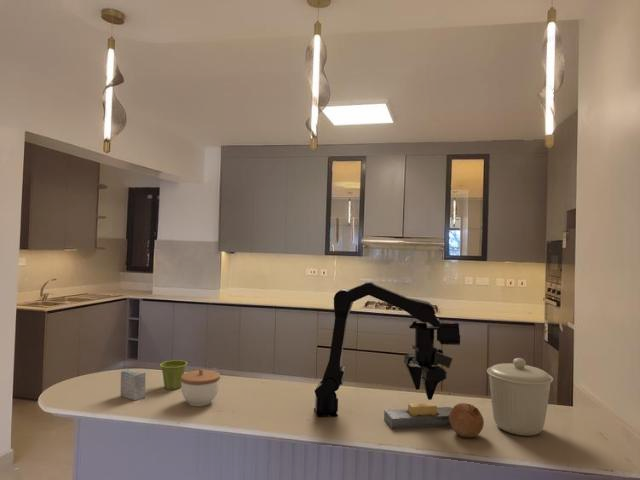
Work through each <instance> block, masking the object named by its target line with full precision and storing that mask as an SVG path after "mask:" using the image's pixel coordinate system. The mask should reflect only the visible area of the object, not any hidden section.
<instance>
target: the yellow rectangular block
mask: <svg viewBox="0 0 640 480" xmlns="http://www.w3.org/2000/svg"><path fill="white" fill-rule="evenodd" d="M407 406H408V408H407V409H408V412H409V415H410V416H418V415H424V414H429V415H436V414H437V407H438V406H437V404H436V403H434V402H415V403H413V402H412V403H408V404H407Z"/></svg>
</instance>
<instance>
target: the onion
mask: <svg viewBox="0 0 640 480" xmlns="http://www.w3.org/2000/svg"><path fill="white" fill-rule="evenodd" d="M451 408H452V410H451V411H450V414H449V422H450V423H451V426H450V427H451V430H452V431H454V432H455V434H457V435H458V436H460V437H461V438H475V437H476V436H478V435H479V434H480V433H481V432H482V431H483V428H484V425H485V421H484V417H483V415H482V413H481V412H480V410H479V408H478V407H476V406H474V405H473V404H469V403H465V402H461V403H460V402H459V403H457V404H456V405H454V406H453V407H451Z"/></svg>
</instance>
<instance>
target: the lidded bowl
mask: <svg viewBox="0 0 640 480" xmlns="http://www.w3.org/2000/svg"><path fill="white" fill-rule="evenodd" d="M220 378H221V373H219V372H218V371H215V370H212V369H211V370H210V369H202V368H200V369H198V370H191V371H187V372H184V374H183V375H182V376H181V392H182V396H183V399H185V401H186V402H188V404H189V405H190V406H192V407H204V406H207V405H210V404H211V403H212V401H213V400H214V399H215V398H216V396H217V395H218V393H219V389H220Z"/></svg>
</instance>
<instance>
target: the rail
mask: <svg viewBox="0 0 640 480" xmlns="http://www.w3.org/2000/svg"><path fill="white" fill-rule="evenodd" d="M452 408H453V407H452V406H441V407H438V406H437V414H436V415H429V414H424V415H418V416H410V415H409V412H408V408H398V409H397V408H396V409H384V410H383V420H384V422H385V423H386V424H387V425H388V427H389V429H390V428H391V430H397V429H398V430H399V429H401V430H402V429H416V428H417V429H418V428H419V429H420V428H434V427H435V428H437V427H451V423H450V422H449V414H450V411H451V410H452Z"/></svg>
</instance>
